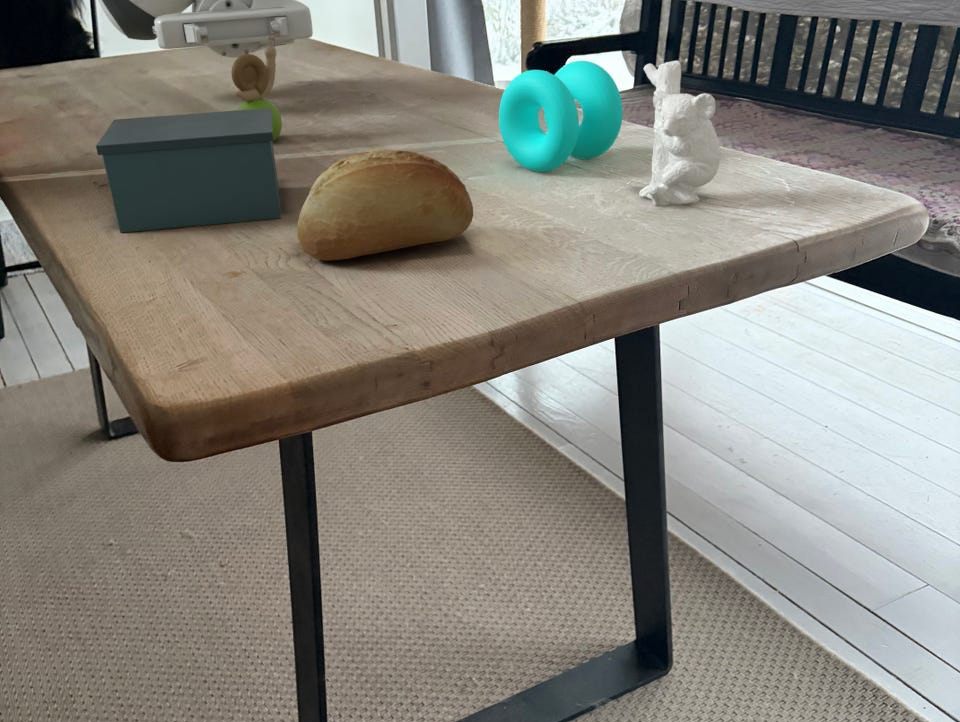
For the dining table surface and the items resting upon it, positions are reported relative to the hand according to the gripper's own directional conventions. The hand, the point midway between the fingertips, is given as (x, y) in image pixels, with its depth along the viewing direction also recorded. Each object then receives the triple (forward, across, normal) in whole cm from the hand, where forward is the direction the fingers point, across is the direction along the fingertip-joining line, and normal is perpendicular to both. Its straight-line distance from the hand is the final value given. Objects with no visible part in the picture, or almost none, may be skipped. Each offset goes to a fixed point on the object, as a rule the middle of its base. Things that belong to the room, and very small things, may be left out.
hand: (240, 32), depth 120 cm
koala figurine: (+55, +32, +12) cm, 65 cm away
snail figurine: (+12, 0, +12) cm, 17 cm away
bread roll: (+58, +4, +12) cm, 59 cm away
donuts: (+38, +28, +12) cm, 48 cm away
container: (+38, -9, +11) cm, 41 cm away
